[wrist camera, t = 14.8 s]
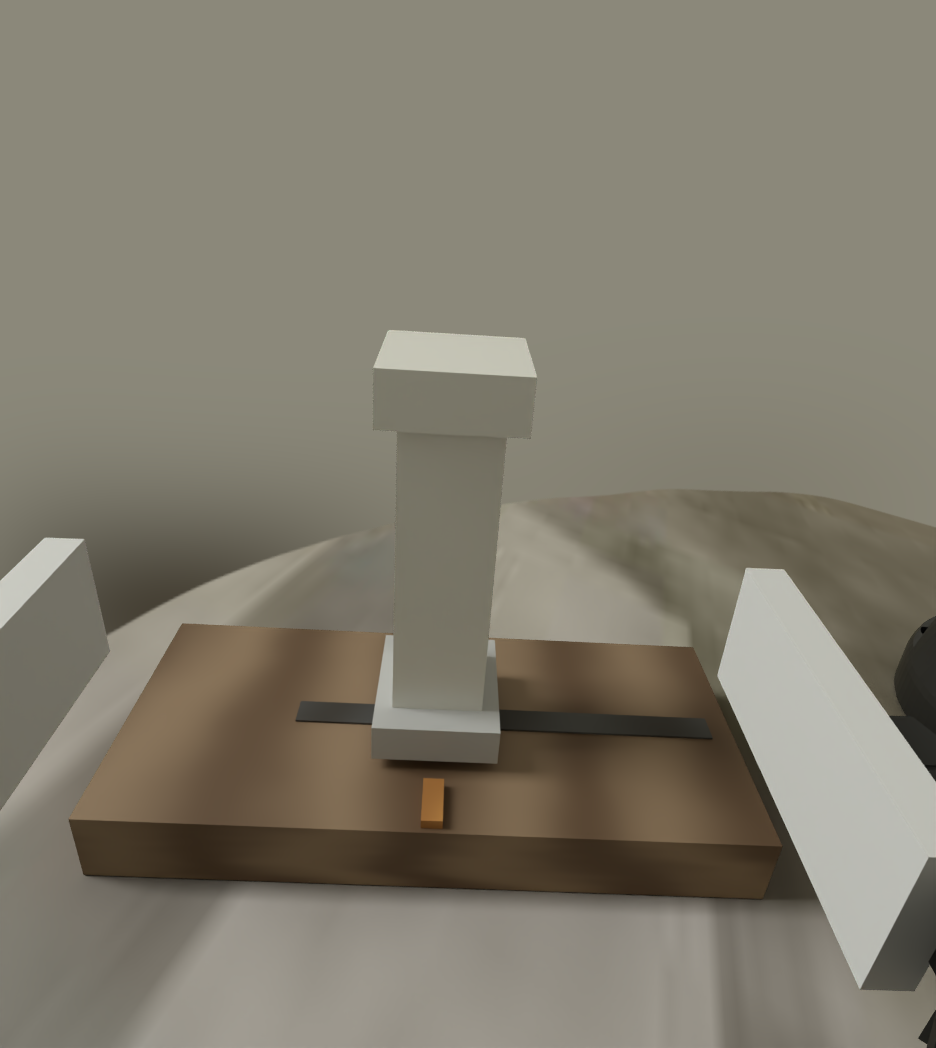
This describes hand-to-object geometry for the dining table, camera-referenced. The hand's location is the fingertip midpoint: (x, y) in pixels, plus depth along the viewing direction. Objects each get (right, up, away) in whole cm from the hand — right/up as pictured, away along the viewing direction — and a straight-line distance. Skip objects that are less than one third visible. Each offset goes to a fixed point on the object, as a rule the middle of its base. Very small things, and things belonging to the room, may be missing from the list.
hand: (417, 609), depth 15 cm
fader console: (-1, -9, +18) cm, 21 cm away
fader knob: (0, -6, +17) cm, 18 cm away
